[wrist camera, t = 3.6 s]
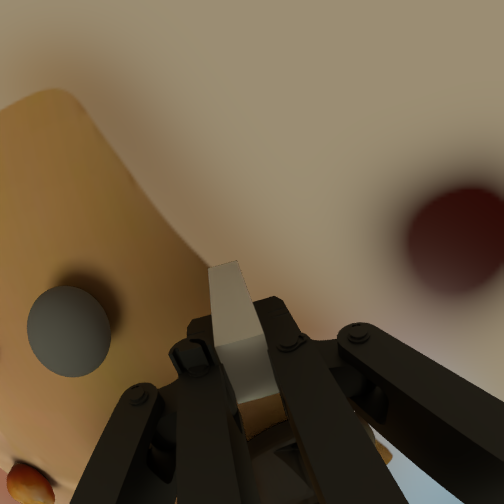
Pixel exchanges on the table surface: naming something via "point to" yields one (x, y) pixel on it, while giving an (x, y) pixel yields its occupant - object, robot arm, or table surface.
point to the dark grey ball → (68, 331)
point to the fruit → (29, 485)
